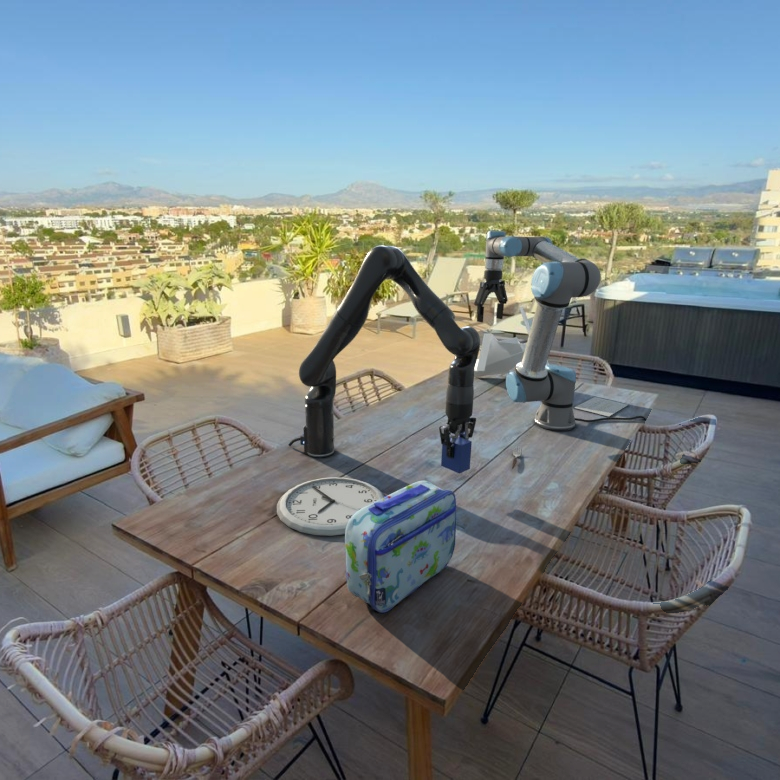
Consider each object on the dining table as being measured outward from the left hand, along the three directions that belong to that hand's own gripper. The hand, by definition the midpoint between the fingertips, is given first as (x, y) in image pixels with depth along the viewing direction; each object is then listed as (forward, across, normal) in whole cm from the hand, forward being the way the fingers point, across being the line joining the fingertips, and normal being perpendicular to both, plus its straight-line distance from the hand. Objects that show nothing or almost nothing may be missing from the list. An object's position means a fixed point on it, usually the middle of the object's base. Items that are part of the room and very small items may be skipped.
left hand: (456, 454), depth 151 cm
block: (+4, 0, 0) cm, 4 cm away
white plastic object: (+11, -103, -52) cm, 116 cm away
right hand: (-25, -75, -46) cm, 91 cm away
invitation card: (+10, -105, -5) cm, 105 cm away
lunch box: (+11, +42, +20) cm, 48 cm away
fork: (+11, -30, +1) cm, 31 cm away
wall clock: (+11, +33, -16) cm, 38 cm away
